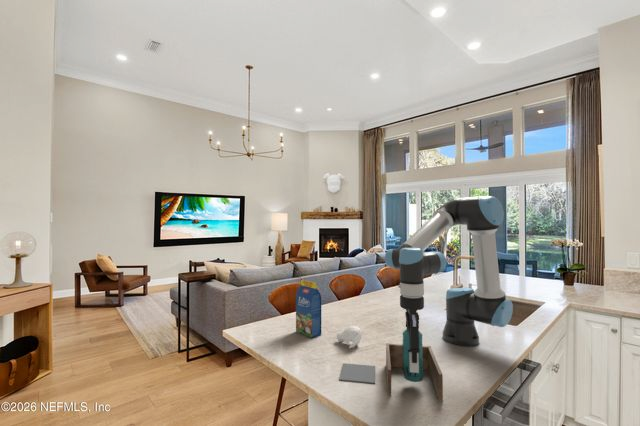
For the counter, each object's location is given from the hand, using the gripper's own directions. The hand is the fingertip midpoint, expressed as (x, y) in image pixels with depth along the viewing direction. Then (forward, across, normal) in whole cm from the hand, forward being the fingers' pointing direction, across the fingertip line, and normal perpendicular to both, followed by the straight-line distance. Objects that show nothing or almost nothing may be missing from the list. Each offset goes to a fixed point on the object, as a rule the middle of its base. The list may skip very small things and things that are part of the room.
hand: (412, 366), depth 100 cm
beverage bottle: (+5, 0, 0) cm, 5 cm away
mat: (+7, -6, -18) cm, 20 cm away
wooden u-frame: (+7, -4, 0) cm, 8 cm away
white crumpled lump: (+7, -31, -24) cm, 40 cm away
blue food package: (+7, -41, -44) cm, 61 cm away
